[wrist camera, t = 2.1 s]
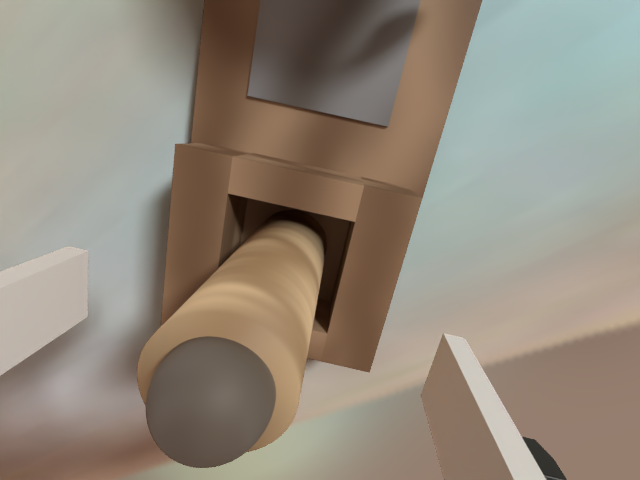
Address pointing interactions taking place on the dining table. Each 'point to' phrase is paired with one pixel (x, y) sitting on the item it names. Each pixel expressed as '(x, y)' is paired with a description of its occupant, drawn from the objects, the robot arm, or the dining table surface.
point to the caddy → (316, 145)
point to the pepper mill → (236, 348)
